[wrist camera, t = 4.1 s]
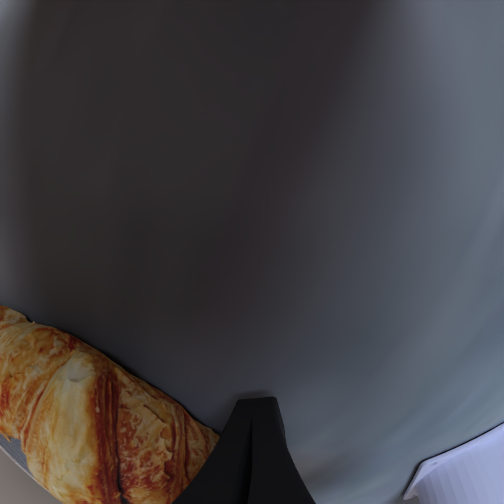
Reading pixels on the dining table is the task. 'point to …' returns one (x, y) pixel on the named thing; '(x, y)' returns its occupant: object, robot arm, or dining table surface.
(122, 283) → the dining table surface
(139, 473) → the croissant
